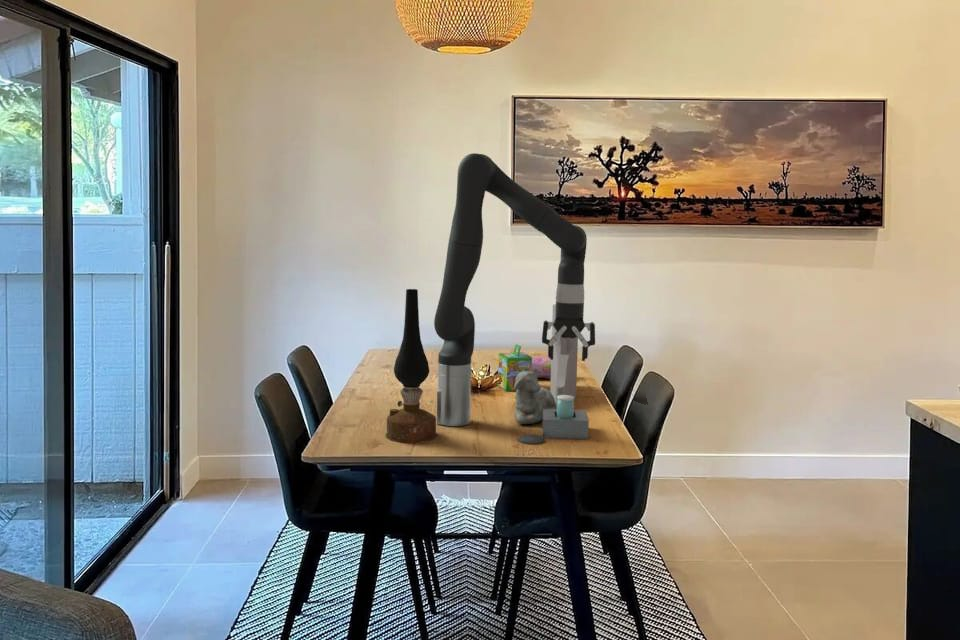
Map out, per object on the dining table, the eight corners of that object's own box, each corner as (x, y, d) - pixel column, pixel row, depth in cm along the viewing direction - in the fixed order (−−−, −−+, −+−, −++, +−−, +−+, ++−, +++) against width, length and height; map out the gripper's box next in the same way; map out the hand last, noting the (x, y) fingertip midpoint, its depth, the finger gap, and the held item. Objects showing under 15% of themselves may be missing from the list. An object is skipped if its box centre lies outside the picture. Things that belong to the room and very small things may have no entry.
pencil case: (561, 376, 309) (562, 351, 307) (567, 381, 300) (568, 356, 298) (503, 377, 306) (504, 352, 305) (507, 382, 297) (508, 356, 296)
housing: (542, 437, 226) (543, 419, 225) (542, 426, 238) (542, 408, 237) (588, 439, 225) (588, 420, 224) (585, 427, 237) (585, 410, 236)
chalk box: (497, 386, 290) (497, 343, 288) (522, 384, 292) (523, 342, 291) (505, 391, 281) (506, 347, 279) (531, 390, 284) (532, 346, 282)
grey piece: (572, 411, 256) (575, 312, 252) (545, 409, 257) (547, 311, 253) (578, 386, 291) (581, 299, 287) (554, 385, 293) (556, 299, 289)
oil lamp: (445, 449, 226) (479, 303, 222) (401, 449, 215) (436, 297, 212) (412, 432, 236) (444, 292, 232) (369, 432, 225) (402, 285, 221)
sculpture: (510, 426, 238) (511, 373, 236) (523, 408, 258) (524, 360, 256) (548, 428, 235) (549, 375, 233) (559, 411, 256) (560, 362, 254)
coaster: (517, 443, 220) (517, 441, 220) (518, 436, 227) (518, 434, 227) (544, 444, 219) (545, 442, 219) (544, 437, 226) (544, 435, 226)
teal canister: (556, 434, 229) (557, 398, 228) (555, 430, 234) (556, 394, 233) (573, 435, 229) (574, 398, 228) (572, 430, 234) (573, 395, 232)
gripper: (543, 301, 224) (541, 361, 226) (597, 302, 223) (595, 363, 225) (543, 298, 231) (541, 356, 234) (595, 299, 231) (593, 358, 233)
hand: (567, 359), depth 230 cm, fingers open, 8 cm apart
